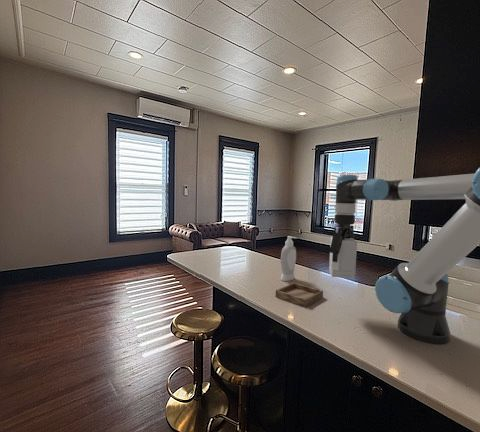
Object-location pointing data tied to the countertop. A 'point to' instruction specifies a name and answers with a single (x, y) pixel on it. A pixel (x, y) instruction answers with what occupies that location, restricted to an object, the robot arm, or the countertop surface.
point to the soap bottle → (288, 260)
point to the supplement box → (345, 259)
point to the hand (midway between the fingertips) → (341, 266)
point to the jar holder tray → (299, 294)
